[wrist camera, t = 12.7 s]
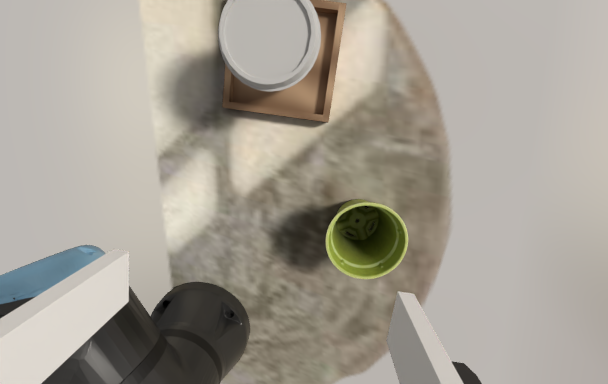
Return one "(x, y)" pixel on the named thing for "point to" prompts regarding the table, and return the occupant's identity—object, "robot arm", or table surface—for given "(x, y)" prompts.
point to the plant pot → (366, 239)
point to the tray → (306, 93)
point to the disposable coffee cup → (269, 41)
